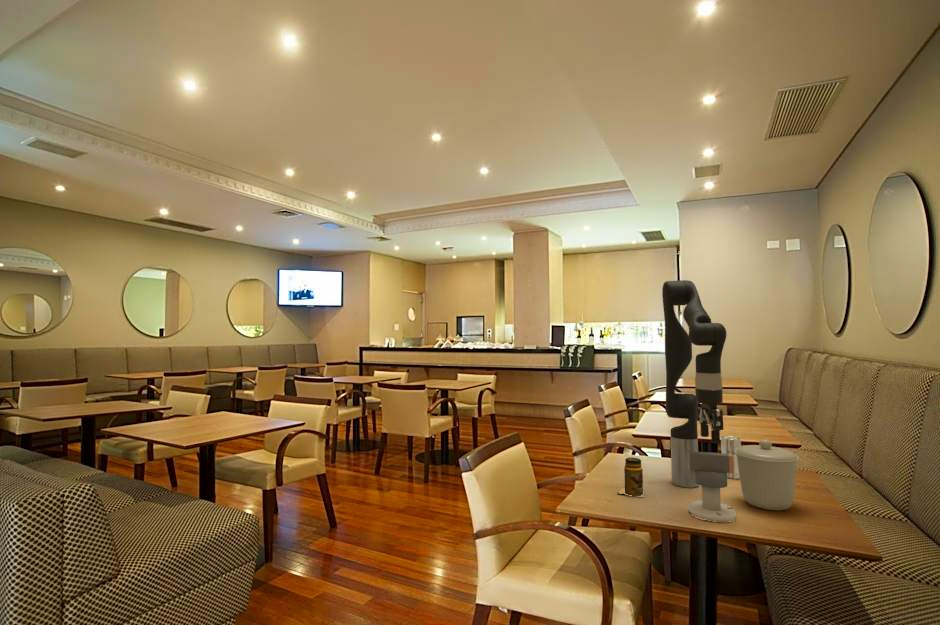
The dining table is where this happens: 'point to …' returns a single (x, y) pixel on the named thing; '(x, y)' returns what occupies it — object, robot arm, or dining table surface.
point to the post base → (712, 514)
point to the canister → (767, 475)
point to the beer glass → (731, 452)
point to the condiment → (633, 477)
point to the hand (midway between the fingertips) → (710, 439)
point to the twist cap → (711, 468)
